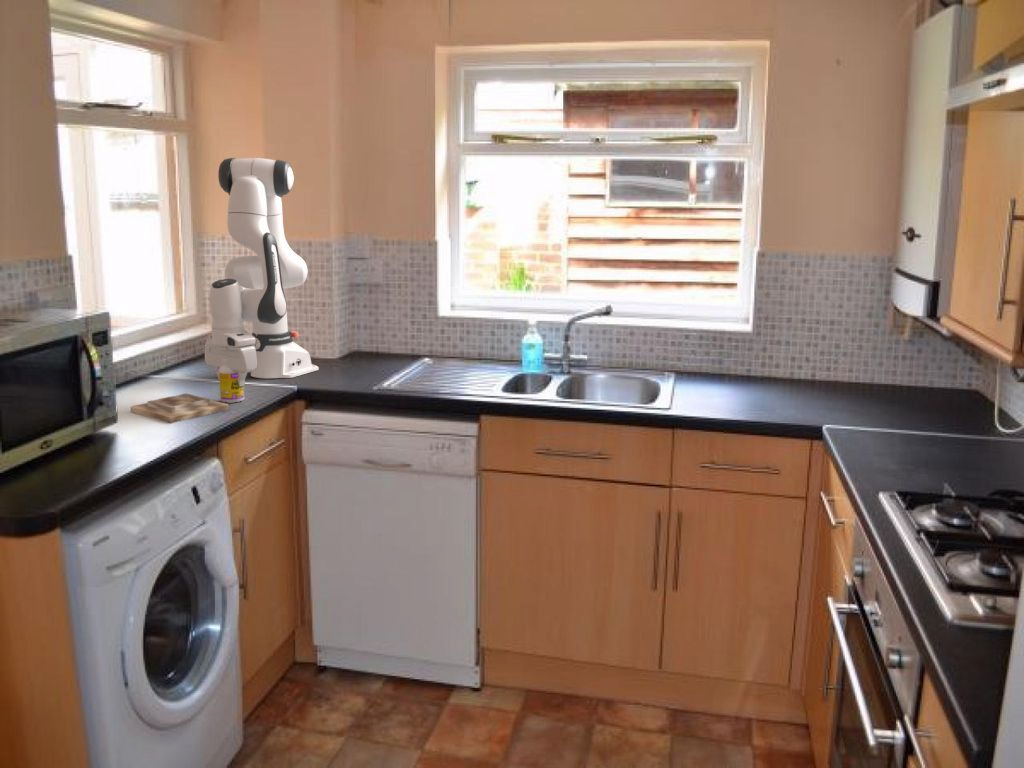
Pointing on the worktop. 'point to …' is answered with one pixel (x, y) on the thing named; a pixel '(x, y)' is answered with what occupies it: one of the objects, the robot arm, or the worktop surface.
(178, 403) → the pocket board
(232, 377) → the supplement bottle
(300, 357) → the robot arm
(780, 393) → the worktop surface
